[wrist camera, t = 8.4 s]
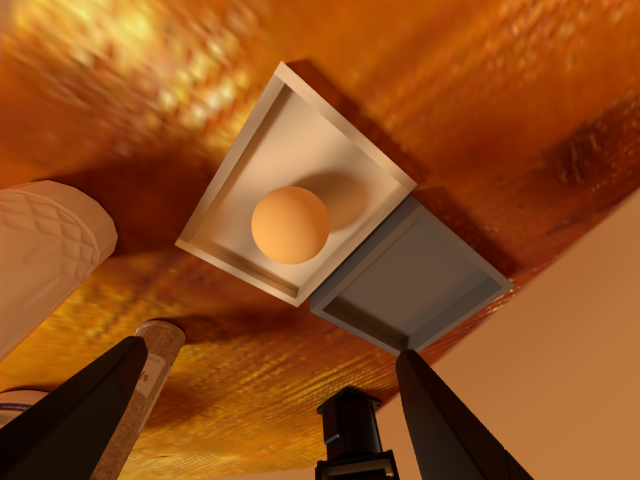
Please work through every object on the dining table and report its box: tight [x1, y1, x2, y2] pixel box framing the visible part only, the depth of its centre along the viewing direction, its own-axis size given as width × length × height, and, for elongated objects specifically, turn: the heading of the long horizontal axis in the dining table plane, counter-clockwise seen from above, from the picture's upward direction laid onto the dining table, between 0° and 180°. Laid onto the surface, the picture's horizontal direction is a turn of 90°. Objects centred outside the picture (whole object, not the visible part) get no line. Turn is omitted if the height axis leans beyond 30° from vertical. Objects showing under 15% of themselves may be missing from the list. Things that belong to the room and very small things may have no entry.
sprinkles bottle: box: [89, 320, 185, 480], centre depth 19 cm, size 5×5×14 cm
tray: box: [175, 61, 418, 307], centre depth 18 cm, size 11×14×2 cm
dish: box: [310, 193, 515, 357], centre depth 22 cm, size 12×12×2 cm
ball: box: [251, 186, 330, 264], centre depth 16 cm, size 5×5×5 cm
